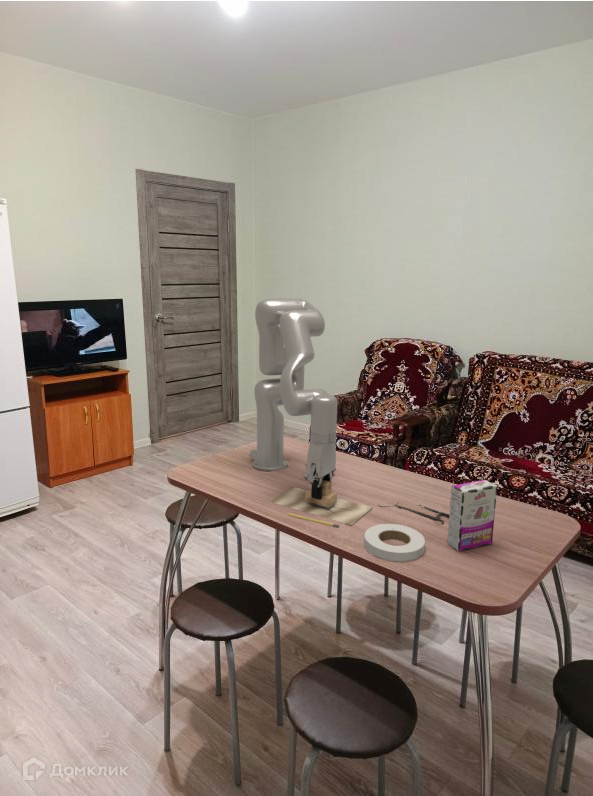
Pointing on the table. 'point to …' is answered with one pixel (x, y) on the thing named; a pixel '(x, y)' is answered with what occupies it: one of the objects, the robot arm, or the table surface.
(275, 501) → the birch board
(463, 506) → the candy bar box
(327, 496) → the cork sanding block
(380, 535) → the roll of tape
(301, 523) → the table surface
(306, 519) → the pencil
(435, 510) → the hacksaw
